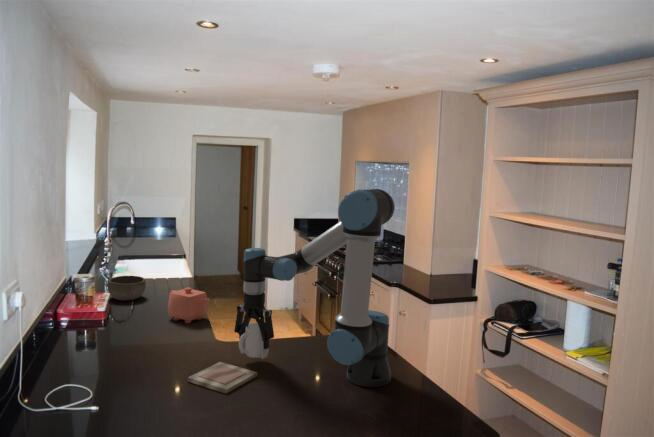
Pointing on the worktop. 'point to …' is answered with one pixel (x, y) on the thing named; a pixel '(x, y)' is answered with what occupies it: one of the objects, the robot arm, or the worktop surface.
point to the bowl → (126, 287)
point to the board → (222, 377)
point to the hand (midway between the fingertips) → (253, 354)
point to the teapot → (187, 304)
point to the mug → (251, 341)
